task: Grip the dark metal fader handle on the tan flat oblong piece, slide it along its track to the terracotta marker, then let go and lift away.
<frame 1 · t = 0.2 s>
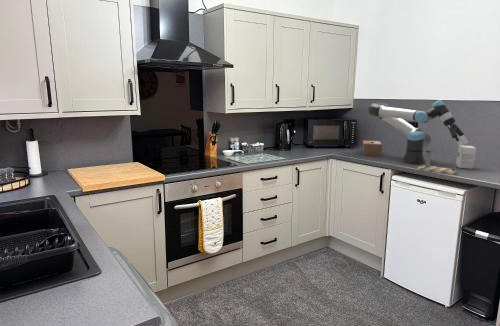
hand: (464, 144, 251), 16 cm above the worktop, tool tilted 35°, fingers open, 13 cm apart
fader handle: (428, 158, 237), point 8 cm above the worktop, slide at -6.0 cm
tissue box cover: (371, 154, 307), on the worktop
supplement box: (464, 167, 249), on the worktop, touching gripper
tan flat oblong piece: (436, 171, 234), on the worktop
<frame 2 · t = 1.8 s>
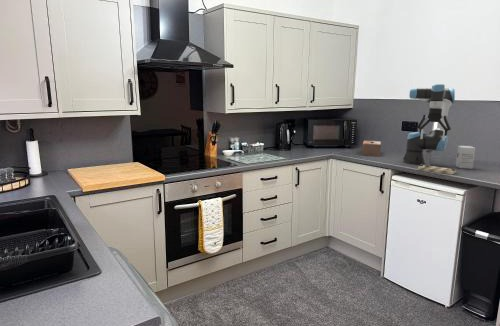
hand: (432, 139, 235), 21 cm above the worktop, tool pointing down, fingers open, 13 cm apart
supplement box: (463, 167, 249), on the worktop
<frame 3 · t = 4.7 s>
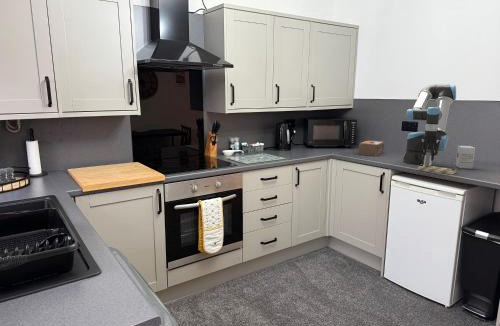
hand: (427, 164, 238), 4 cm above the worktop, tool pointing down, fingers closed on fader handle, 2 cm apart
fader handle: (428, 158, 237), point 8 cm above the worktop, slide at -6.0 cm, touching gripper
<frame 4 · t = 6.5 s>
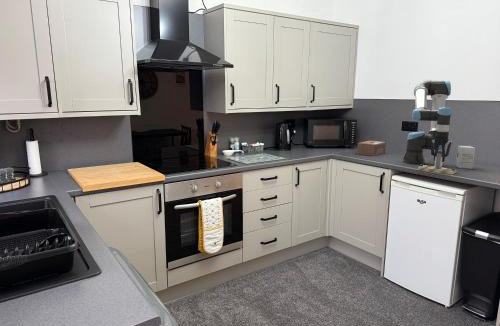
hand: (438, 166, 233), 4 cm above the worktop, tool pointing down, fingers closed on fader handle, 2 cm apart
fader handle: (439, 159, 232), point 8 cm above the worktop, slide at 0.7 cm, touching gripper
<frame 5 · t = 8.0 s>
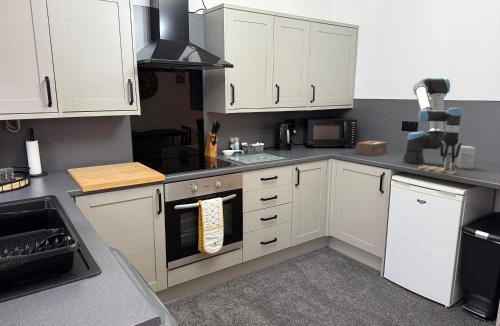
hand: (447, 167, 229), 4 cm above the worktop, tool pointing down, fingers closed on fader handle, 2 cm apart
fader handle: (448, 160, 229), point 8 cm above the worktop, slide at 6.5 cm, touching gripper
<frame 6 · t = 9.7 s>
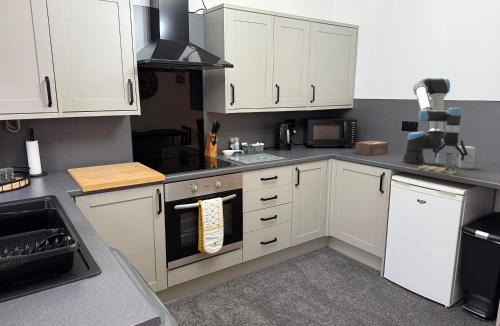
hand: (448, 164, 229), 6 cm above the worktop, tool pointing down, fingers open, 13 cm apart
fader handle: (448, 161, 229), point 8 cm above the worktop, slide at 6.5 cm
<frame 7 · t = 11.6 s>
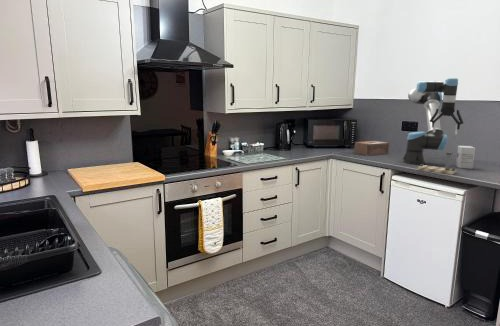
hand: (444, 133, 238), 25 cm above the worktop, tool pointing down, fingers open, 13 cm apart
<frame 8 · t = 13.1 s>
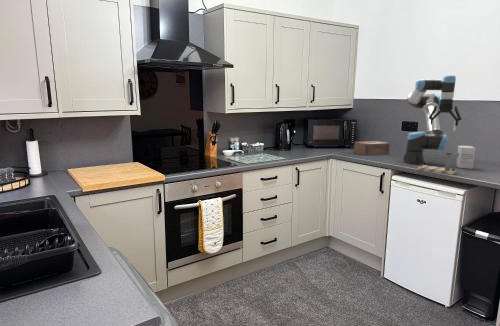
hand: (443, 130, 241), 27 cm above the worktop, tool pointing down, fingers open, 13 cm apart
at the end: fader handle slide at 6.5 cm; the gripper is holding nothing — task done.
